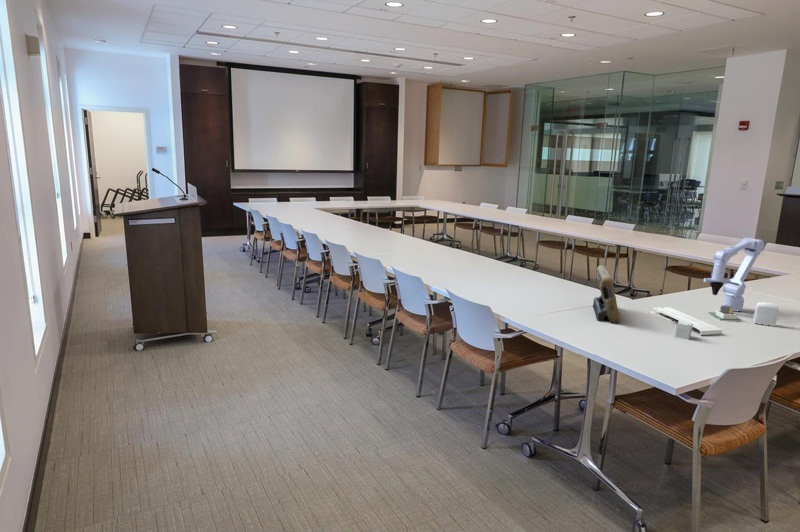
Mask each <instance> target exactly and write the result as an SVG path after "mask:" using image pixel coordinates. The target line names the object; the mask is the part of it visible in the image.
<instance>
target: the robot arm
mask: <svg viewBox="0 0 800 532" xmlns="http://www.w3.org/2000/svg"><path fill="white" fill-rule="evenodd" d="M764 247H765V243H764V240H763V239H758V238H751V237H748V236H747V237H746V236H745V237H744V238H742V239H741V241H740V242H737V244H735V245H728V246H727V247H725V248H724V249H722V250H717V251H715V252H714V253H713V256H712V257H713V258H712V259H713V264H714V265H713V270H712V275H711V277H706V278H705V277H704V278H703V282H704V283H709V284H710V287H711V291H712V292H711V294H712V295H713V296H717V295H718V293H719V292H720V290H721V289H722V292H723V294H724V298H723V304H722V306H723V305H728V306H731V307H733V310H732V312H734V311H737V310H738V311H743V309H744V304H745V299H744V297H743V295H744V294H745V290H746V288H747V286H746V284H745V279H746V278H747V276H748V274H749V273H750V271H751V269H752V267H753V265H754V264H755V262H756V260H757V258H758V257H759V256H760V255H761V253H762V251H763V250H764ZM742 250H743V251H744V254H746V255H745V257H744V259H743V261H742V262H741V264H740V266H739V268H738V269H737V271H736V273H735V275H734V276H733V278H730V279H727V278H725V274H726V273H725V272H726V266H727V263H728V262H729V261H730V260H731V258H732V257H735V256H736V255H737V254H738V253H739V251H742Z"/></svg>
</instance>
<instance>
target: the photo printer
mask: <svg viewBox="0 0 800 532" xmlns="http://www.w3.org/2000/svg"><path fill="white" fill-rule="evenodd" d="M778 312H779V305H777V304H776V303H773V302H769V301H768V302H765V301H763V302H761V301H760V302H757V303H756V305H755V309H754V313H753V319H752V323H753V322H754V323H757V324H756V325H761V324H763V325H762V326H768V325H770V327H775V326H776V323H777V318H778ZM754 323H753V324H754Z"/></svg>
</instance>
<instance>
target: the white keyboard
mask: <svg viewBox="0 0 800 532" xmlns="http://www.w3.org/2000/svg"><path fill="white" fill-rule="evenodd" d="M651 309H652V311H649V312H648V313H651V314H653V315H655V316H657V317H659V318H661V317H664V316H666V317H667V316H669V317H672V318H674V319H676V320H678V321H677V322H679V321H680V320H681V321H686V322H690V323H693V327H692V328H695V329H697V330H698V331H699V333H700V334H699V336H718V335H719V334H720V335H722V334H723V330H722V329H721V328H720V327H718V326H715V325H713V324H710V323H707V322H705V321H702V320H701V319H698V318H696V317H693V316H691V315H689V314H686V313H684V312H682V311H679V310H677V309H674V308H672V307H670V306H665V307H659V306H658V307H651ZM653 310H655V311H653ZM660 313H661V314H663V315H664V316H663V315H661V314H660ZM660 316H661V317H660ZM669 317H668V318H669ZM672 318H671V319H672ZM674 319H673V320H674ZM676 320H675V321H676ZM720 335H719V336H720Z"/></svg>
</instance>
